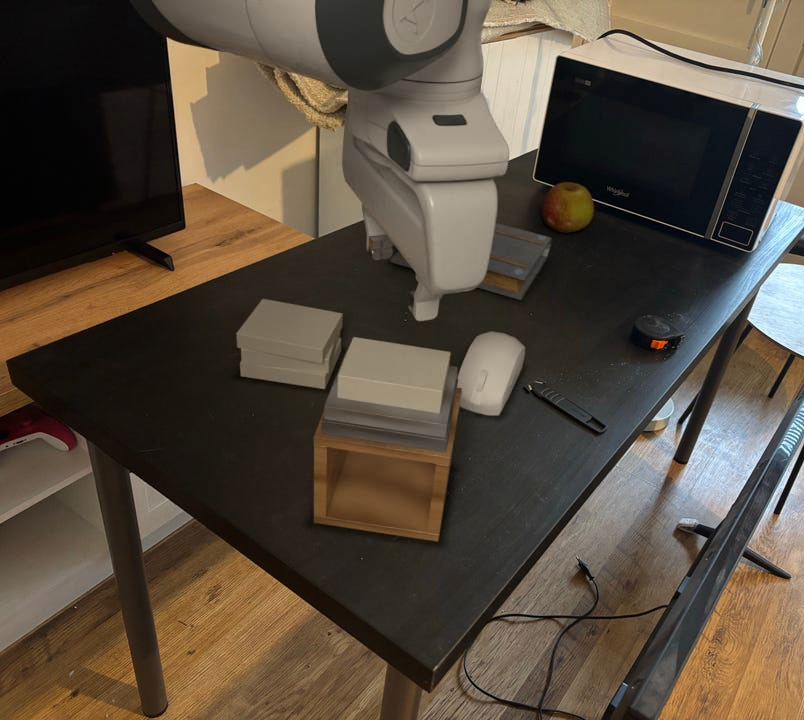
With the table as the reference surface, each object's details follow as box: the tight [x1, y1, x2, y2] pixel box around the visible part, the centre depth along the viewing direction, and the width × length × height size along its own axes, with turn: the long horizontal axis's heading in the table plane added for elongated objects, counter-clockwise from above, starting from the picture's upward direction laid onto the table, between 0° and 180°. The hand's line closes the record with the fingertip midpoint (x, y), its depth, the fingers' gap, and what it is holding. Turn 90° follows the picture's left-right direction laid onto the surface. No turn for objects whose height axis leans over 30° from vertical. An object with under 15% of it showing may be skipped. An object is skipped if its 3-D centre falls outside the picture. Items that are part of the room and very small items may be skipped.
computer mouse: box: [456, 330, 526, 416], centre depth 90 cm, size 6×13×6 cm, turn 163°
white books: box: [235, 298, 344, 390], centre depth 88 cm, size 9×10×6 cm
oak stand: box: [313, 349, 462, 543], centre depth 70 cm, size 10×12×14 cm
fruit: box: [541, 181, 595, 234], centre depth 129 cm, size 10×9×8 cm
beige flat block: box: [337, 336, 452, 413], centre depth 65 cm, size 6×9×2 cm, turn 85°
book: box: [389, 222, 552, 301], centre depth 115 cm, size 21×16×5 cm
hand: (399, 283), depth 58 cm, fingers open, 8 cm apart
